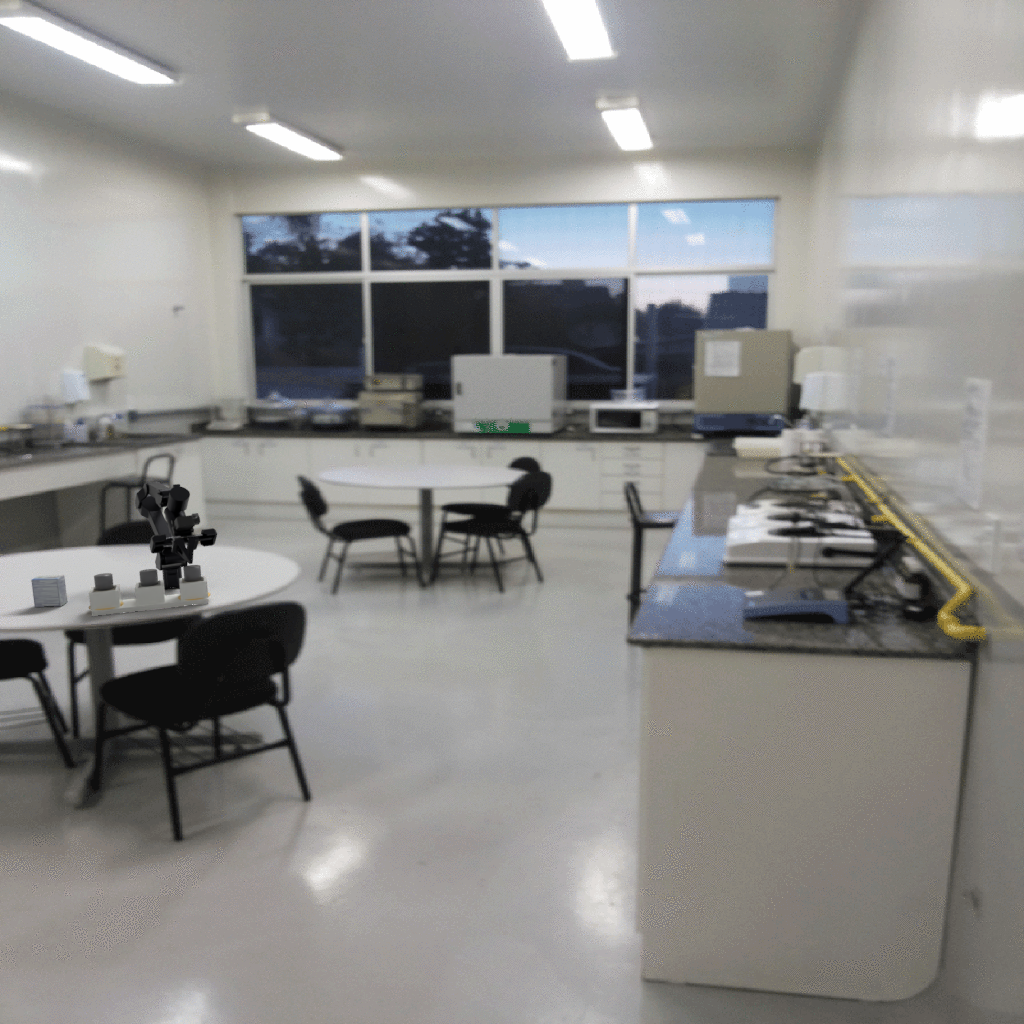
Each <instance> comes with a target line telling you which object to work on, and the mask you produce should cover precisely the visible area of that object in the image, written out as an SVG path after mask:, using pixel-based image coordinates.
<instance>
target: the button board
mask: <svg viewBox="0 0 1024 1024" xmlns="http://www.w3.org/2000/svg"><path fill="white" fill-rule="evenodd" d="M201 578H202V579H201V580H199V581H195V582H185V581H184V577H182V578H179V585H180V588H179V593H175V594H167V595H166V593H165V590H166V589H164V580H163V579H161V580H159V579H158V584H157V585H153V586H141V584H140V582H135V585H134V595H135V598H127V599H122V595H121V594H122V593H121V585H120V584H113V586H114V588H113V589H111V590H106V591H96V590H95V586H91V587H90V590H89V592H88V597H89V606H88V609H89V610H90V611H91V612H90V613H91V617H92V616H93V617H99V616H98V615H102V616H107V615H106V614H111V615H114V614H113V613H120V614H124V613H123V612H129V613H136V612H135V611H138V612H146V611H145V610H147V611H154V610H163V609H164V608H165V609H172V608H171V607H175V608H178V607H177V606H184V605H192V604H193V606H195V605H194V604H202V605H208V604H209V603H208V598H210V596H211V593H210V592H209V590H208V579H207V576H206V575H201ZM184 607H185V606H184Z"/></svg>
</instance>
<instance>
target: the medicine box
mask: <svg viewBox="0 0 1024 1024" xmlns="http://www.w3.org/2000/svg"><path fill="white" fill-rule="evenodd" d="M65 577H66V576H65V575H64V574H61V575H60V574H55V575H54V574H52V575H37V576H36V577H33V578H32V579H30V581H31V588H32V589H31V590H32V597H33V604H34V605H33V606H34V608H45V607H44V606H54V607H62V605H63V606H64V605H65V603H66V604H67V603H68V602H69V601H68V593H67V585H66V578H65Z"/></svg>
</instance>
